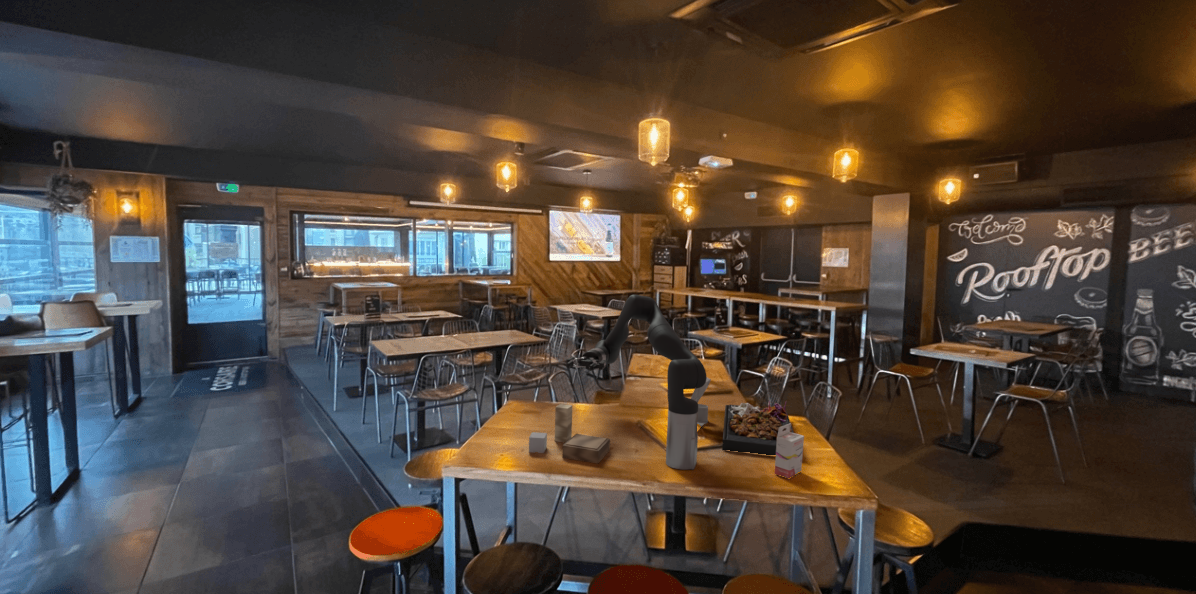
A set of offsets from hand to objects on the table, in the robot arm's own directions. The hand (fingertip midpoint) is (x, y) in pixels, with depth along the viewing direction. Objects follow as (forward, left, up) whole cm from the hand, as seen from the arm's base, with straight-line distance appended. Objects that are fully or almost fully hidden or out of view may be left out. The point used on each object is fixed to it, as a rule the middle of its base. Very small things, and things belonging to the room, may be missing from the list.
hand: (579, 367), depth 186 cm
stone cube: (+6, +21, -24) cm, 33 cm away
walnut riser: (-10, +18, -24) cm, 32 cm away
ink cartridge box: (-72, +8, -24) cm, 77 cm away
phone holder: (-37, -28, -24) cm, 53 cm away
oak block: (+2, +9, -24) cm, 26 cm away
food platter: (-62, -27, -25) cm, 72 cm away
